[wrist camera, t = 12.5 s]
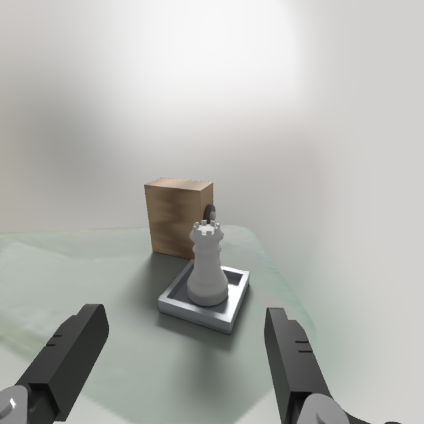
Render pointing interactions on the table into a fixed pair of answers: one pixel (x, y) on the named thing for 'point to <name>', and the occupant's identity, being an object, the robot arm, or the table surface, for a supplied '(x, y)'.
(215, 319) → the tray
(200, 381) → the table surface
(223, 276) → the rook chess piece
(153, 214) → the block
